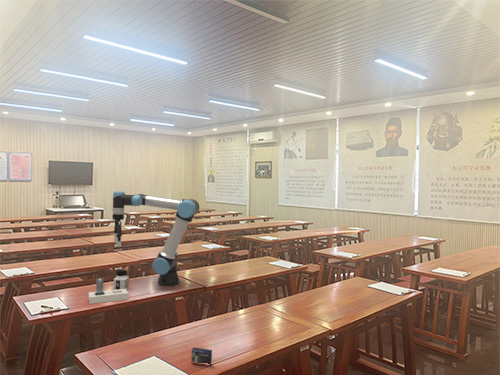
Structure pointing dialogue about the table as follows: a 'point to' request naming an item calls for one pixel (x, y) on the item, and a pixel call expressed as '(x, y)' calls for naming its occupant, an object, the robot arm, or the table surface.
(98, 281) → the pin
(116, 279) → the container
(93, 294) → the white slotted block
